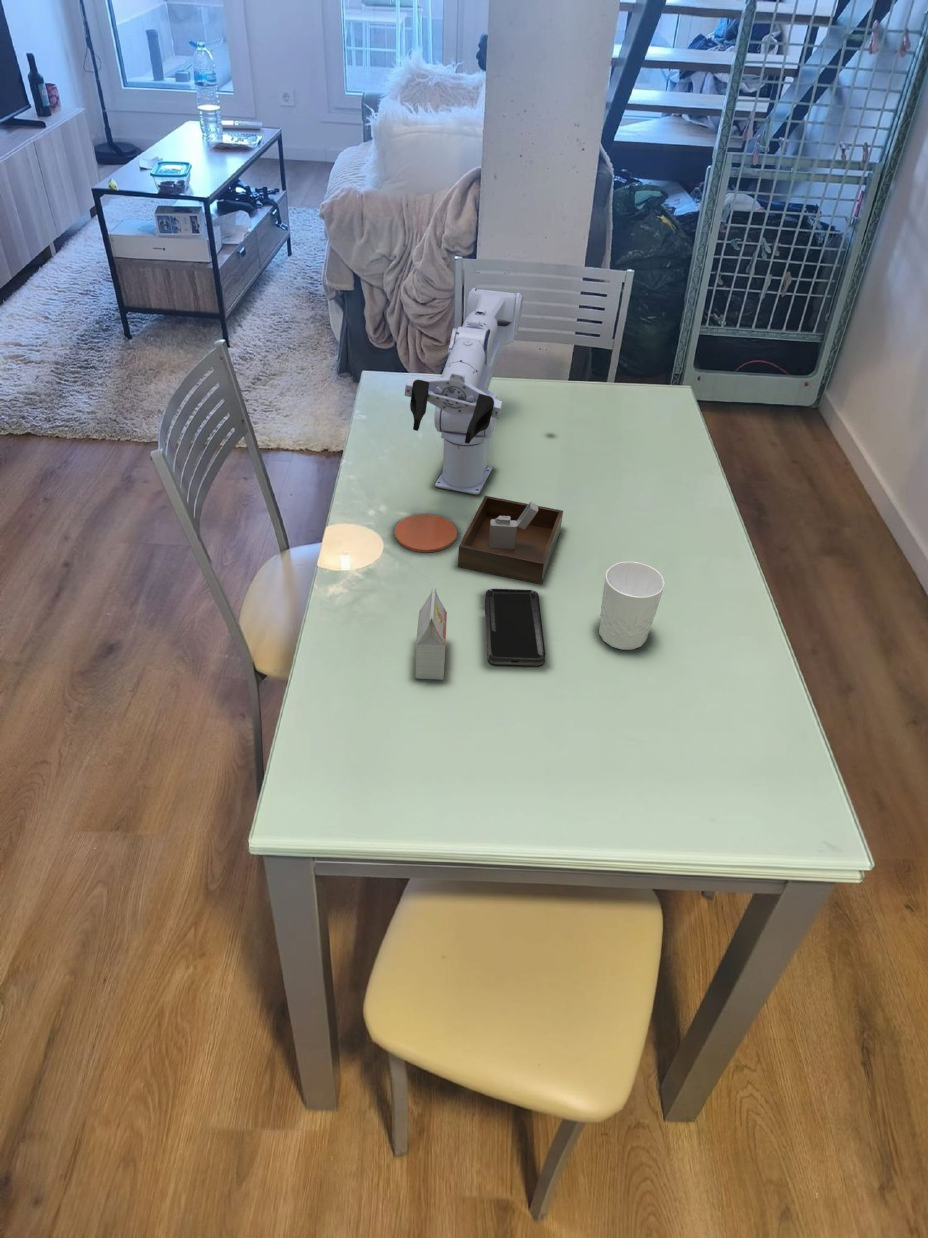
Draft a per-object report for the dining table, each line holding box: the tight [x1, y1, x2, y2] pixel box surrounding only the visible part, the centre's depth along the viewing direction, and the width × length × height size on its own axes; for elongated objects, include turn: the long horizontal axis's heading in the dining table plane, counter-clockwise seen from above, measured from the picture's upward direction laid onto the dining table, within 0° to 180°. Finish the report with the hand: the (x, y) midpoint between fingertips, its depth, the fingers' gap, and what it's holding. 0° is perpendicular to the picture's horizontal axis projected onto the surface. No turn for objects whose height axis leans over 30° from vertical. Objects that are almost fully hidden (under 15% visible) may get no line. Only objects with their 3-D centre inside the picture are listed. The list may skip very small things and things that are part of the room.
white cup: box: [598, 560, 666, 651], centre depth 113 cm, size 8×8×10 cm
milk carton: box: [415, 587, 448, 681], centre depth 107 cm, size 4×7×10 cm, turn 179°
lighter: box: [489, 501, 539, 549], centre depth 128 cm, size 7×2×8 cm, turn 88°
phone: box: [484, 588, 546, 667], centre depth 116 cm, size 8×1×15 cm
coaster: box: [394, 513, 458, 553], centre depth 133 cm, size 10×10×1 cm
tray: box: [457, 495, 564, 585], centre depth 130 cm, size 15×13×4 cm
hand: (442, 431), depth 118 cm, fingers open, 7 cm apart
